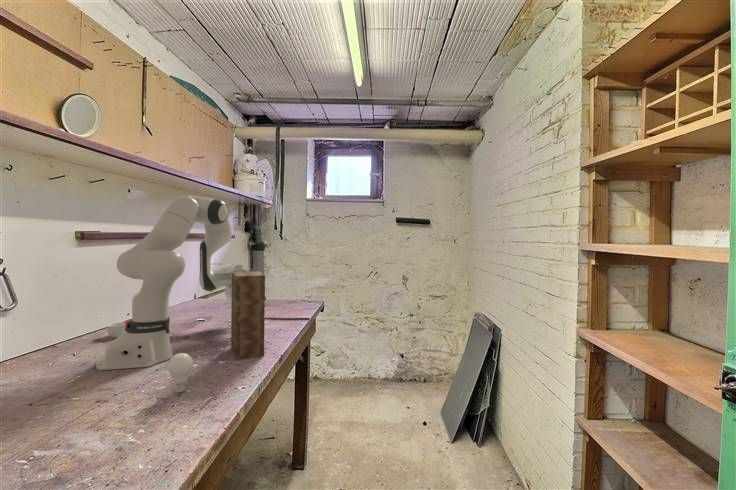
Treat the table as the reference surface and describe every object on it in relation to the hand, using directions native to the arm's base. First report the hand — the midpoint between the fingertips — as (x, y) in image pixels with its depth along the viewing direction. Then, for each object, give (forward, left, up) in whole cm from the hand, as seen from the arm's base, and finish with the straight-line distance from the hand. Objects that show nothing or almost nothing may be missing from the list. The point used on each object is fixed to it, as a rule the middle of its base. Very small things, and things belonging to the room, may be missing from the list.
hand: (239, 271), depth 155 cm
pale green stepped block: (0, -1, -6) cm, 6 cm away
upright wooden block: (0, -24, -29) cm, 38 cm away
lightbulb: (-22, -52, -29) cm, 64 cm away
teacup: (-47, +21, -29) cm, 59 cm away
